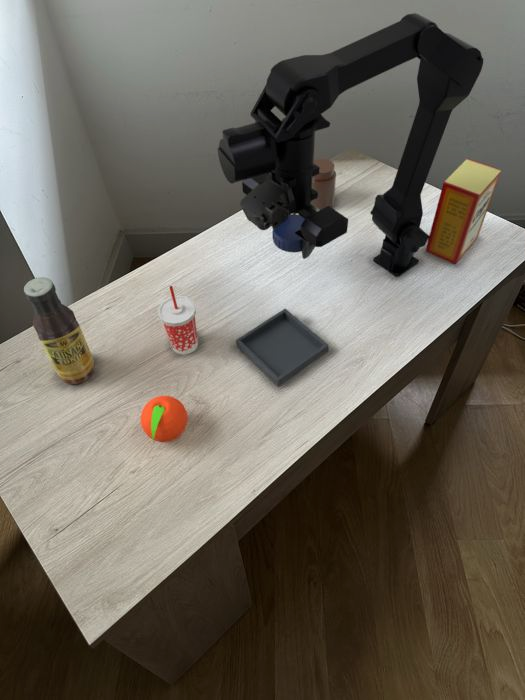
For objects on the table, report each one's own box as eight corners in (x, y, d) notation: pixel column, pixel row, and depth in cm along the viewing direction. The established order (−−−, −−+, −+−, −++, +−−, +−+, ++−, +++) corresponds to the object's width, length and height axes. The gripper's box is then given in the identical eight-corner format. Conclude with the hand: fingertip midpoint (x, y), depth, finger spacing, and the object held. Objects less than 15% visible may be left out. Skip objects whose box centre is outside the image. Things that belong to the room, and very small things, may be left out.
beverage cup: (179, 326, 93) (165, 268, 82) (209, 337, 92) (198, 279, 81) (161, 351, 90) (143, 294, 79) (191, 362, 88) (177, 306, 77)
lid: (290, 258, 82) (290, 246, 80) (264, 237, 85) (263, 225, 83) (323, 240, 84) (323, 228, 82) (296, 220, 88) (296, 208, 86)
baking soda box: (447, 226, 108) (468, 156, 95) (477, 239, 105) (502, 168, 92) (425, 251, 103) (443, 180, 91) (455, 264, 100) (479, 193, 88)
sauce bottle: (64, 392, 86) (15, 310, 70) (56, 365, 89) (6, 282, 74) (103, 376, 87) (62, 293, 72) (93, 351, 91) (52, 266, 75)
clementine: (182, 459, 77) (173, 436, 71) (137, 453, 78) (126, 429, 72) (195, 414, 82) (188, 388, 76) (153, 408, 83) (144, 383, 77)
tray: (285, 315, 94) (285, 308, 93) (328, 351, 88) (328, 344, 87) (236, 346, 90) (235, 339, 89) (277, 387, 84) (277, 380, 83)
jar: (317, 189, 117) (319, 153, 110) (339, 201, 115) (343, 164, 108) (298, 202, 115) (299, 166, 108) (321, 214, 112) (323, 178, 105)
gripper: (209, 154, 75) (219, 239, 88) (292, 214, 66) (291, 300, 78) (269, 128, 79) (271, 213, 92) (355, 181, 70) (345, 268, 82)
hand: (292, 246), depth 86 cm, fingers closed on lid, 6 cm apart
